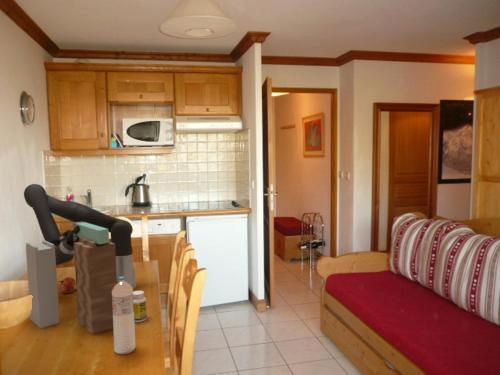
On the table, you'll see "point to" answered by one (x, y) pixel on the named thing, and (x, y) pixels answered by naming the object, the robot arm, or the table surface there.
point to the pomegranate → (67, 285)
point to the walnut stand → (95, 284)
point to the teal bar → (92, 232)
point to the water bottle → (123, 317)
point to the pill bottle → (139, 306)
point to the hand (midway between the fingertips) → (84, 226)
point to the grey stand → (42, 283)
